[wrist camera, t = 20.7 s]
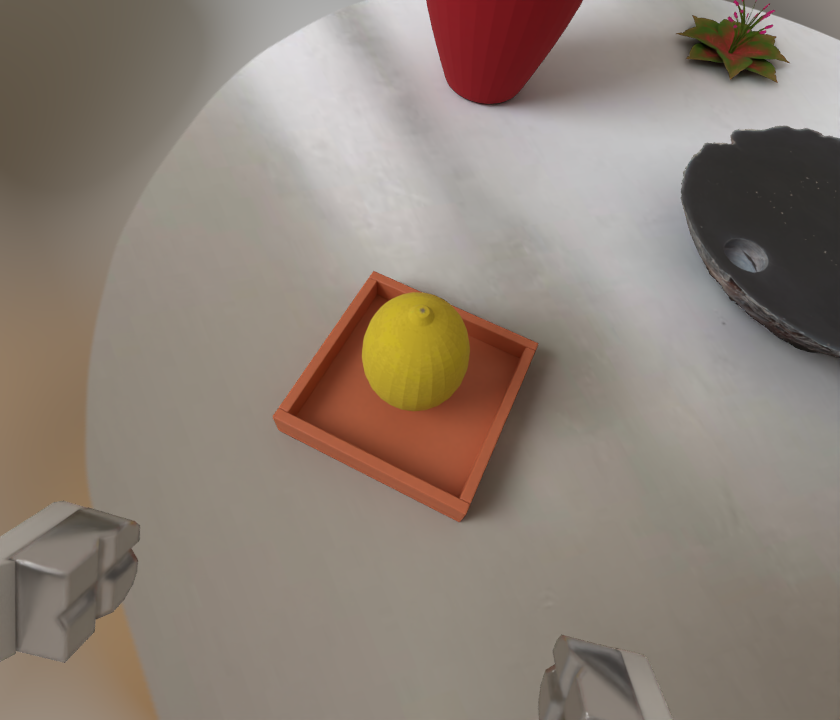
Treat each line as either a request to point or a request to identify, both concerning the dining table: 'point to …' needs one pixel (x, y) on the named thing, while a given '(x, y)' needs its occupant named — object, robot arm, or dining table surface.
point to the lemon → (415, 351)
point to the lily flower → (735, 44)
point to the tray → (400, 429)
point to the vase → (496, 42)
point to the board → (772, 228)
